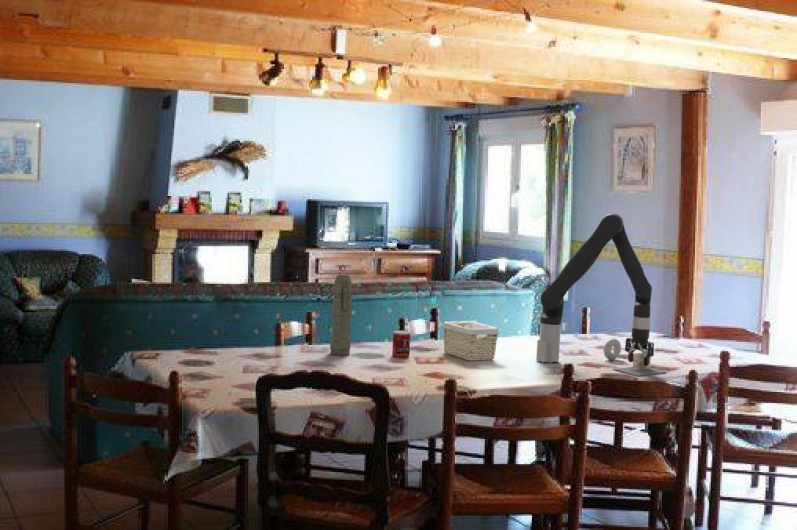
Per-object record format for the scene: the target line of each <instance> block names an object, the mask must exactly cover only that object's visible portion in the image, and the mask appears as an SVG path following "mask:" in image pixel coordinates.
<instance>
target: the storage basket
mask: <svg viewBox="0 0 797 530" xmlns="http://www.w3.org/2000/svg"><path fill="white" fill-rule="evenodd" d="M442 328H443V344H444V345H443V349H444V350H443V352H444V353H445V354H447V355H451V356H452V357H457V358H459V359H462V360H466V361H470V362H471V361H472V362H473V361H489V360H494V359H495V356H496V355H495V354H496V349H497V348H496V347H497V341H498V335H499V332H500V331H499V328H498V327H495V326H492V325H488V324H484V323H482V322H481V323H480V322H477V321H474V320H457V321H456V320H455V321H444V322H443V325H442Z"/></svg>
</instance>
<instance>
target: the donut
mask: <svg viewBox="0 0 797 530" xmlns="http://www.w3.org/2000/svg"><path fill="white" fill-rule="evenodd" d="M612 348H613V350H612ZM621 352H622V345H621V342H620V341H619V340H618V339H617V338H609V339H608V340H606V342H605V344H604V347H603V355H604V357H605V358H606V359H607V360H609V361H614V360H616V359H618V357H620V354H621Z"/></svg>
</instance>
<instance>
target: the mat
mask: <svg viewBox="0 0 797 530" xmlns="http://www.w3.org/2000/svg"><path fill="white" fill-rule="evenodd" d="M612 370H613V371H614V370H615V372H618V371H619V373H622V372H623V374H627V375H631V376H635V377H644V376H654V375H661V374H662V373H664V374H667V371H665V370H661V369H660V370H659V369H656V368H651V367H650V369H644V370H633V366H627V367H619V368H613V369H612Z"/></svg>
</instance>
